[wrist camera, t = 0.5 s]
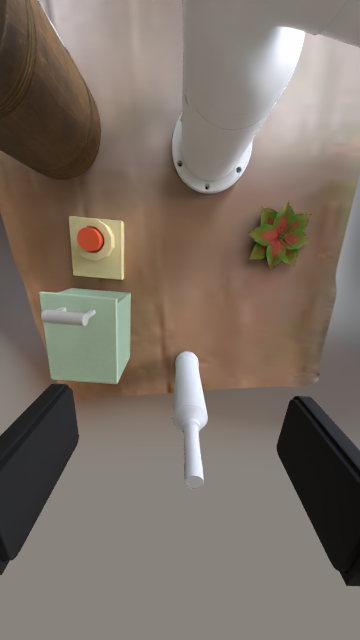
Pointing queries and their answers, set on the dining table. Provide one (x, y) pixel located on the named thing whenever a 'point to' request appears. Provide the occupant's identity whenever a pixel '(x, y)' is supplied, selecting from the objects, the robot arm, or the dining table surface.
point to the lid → (81, 337)
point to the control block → (107, 257)
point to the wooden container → (43, 96)
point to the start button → (89, 239)
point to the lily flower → (279, 236)
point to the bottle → (189, 415)
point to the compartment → (122, 317)
